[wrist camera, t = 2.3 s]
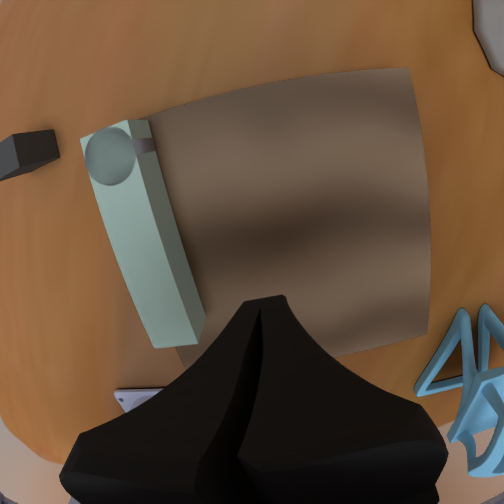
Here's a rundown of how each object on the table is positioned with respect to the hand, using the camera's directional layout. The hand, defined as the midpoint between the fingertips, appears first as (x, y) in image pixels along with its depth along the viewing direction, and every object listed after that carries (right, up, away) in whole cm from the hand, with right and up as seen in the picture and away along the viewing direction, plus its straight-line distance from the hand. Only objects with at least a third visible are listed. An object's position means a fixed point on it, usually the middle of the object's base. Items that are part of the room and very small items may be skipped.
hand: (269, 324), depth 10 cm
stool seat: (+1, +4, +9) cm, 9 cm away
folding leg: (-6, +3, +6) cm, 9 cm away
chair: (+17, -6, +12) cm, 21 cm away
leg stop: (-15, +9, +7) cm, 19 cm away
